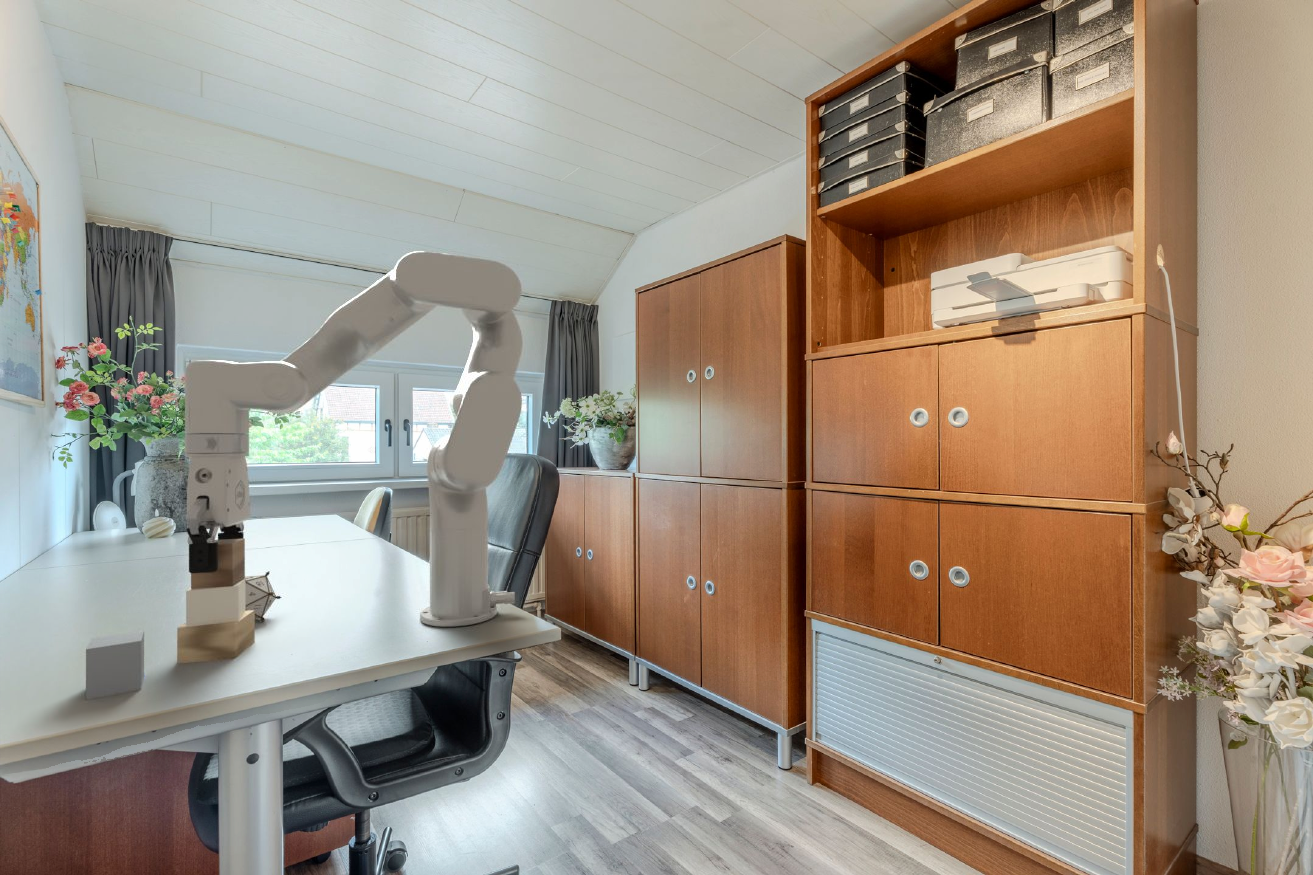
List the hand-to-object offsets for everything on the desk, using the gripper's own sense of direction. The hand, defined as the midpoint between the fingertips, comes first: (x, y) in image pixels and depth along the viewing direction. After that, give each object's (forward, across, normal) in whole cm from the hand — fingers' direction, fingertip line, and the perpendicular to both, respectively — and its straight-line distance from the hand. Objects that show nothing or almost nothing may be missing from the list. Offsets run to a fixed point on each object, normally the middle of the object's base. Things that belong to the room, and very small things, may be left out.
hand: (217, 565), depth 88 cm
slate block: (+13, -11, +7) cm, 18 cm away
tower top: (+8, 0, 0) cm, 8 cm away
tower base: (+13, 0, 0) cm, 13 cm away
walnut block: (+3, 0, 0) cm, 3 cm away
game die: (+13, +16, +1) cm, 20 cm away
